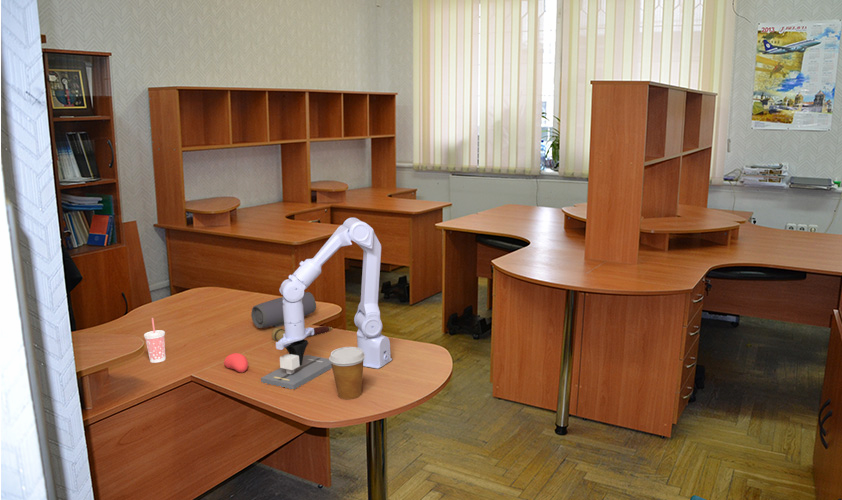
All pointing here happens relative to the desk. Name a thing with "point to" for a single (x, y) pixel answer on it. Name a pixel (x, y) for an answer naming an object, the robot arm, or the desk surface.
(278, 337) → the gavel
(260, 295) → the desk surface
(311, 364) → the grey slider base
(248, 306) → the desk surface
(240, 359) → the red kidney bean
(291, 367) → the fader
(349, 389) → the disposable coffee cup
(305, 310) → the bluetooth speaker
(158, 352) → the beverage cup
